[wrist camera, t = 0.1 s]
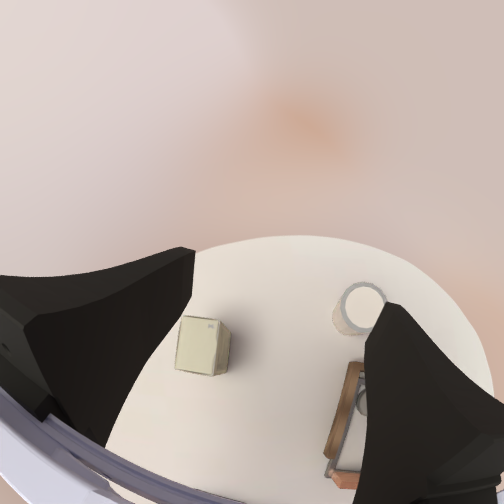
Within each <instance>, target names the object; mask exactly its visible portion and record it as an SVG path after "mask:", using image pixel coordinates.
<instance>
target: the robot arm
mask: <svg viewBox="0 0 504 504" xmlns="http://www.w3.org/2000/svg"><path fill="white" fill-rule="evenodd" d="M195 252H196V251H194V250H191V249H187V248H184V247H177V248H173V249H169V250H166V251H163V252H160V253H158V254H154V255H152V256H148V257H145V258H142V259H139V260H136V261H133V262H129V263H126V264H123V265H119V266H116V267H112V268H108V269H104V270H99V271H94V272H89V273H83V274H75V275H66V276H56V277H18V276H5V275H0V475H1V476H2V477H3V478H4V480H5V481H6V482H7V483H8V484H9V485H10V486H11V487H12V488H13V489H14V490H15V491H16V492H17V493H18V494H19V495H20V496H21V497H22V498H23V499H24V500H25V501H26V502H28V503H29V504H135V503H132V502H130V501H128V500H126V499H124V498H123V497H121V496H120V495H119V494H117V493H116V492H115V491H114V490H113V489H112V488H111V487H110V485H109V482H108V481H107V480H105V479H104V478H102V477H101V476H99V475H98V474H100V475H102V476H103V477H105V478H107V479H109V480H110V481H112V482H114V483H116V484H118V485H120V486H122V487H124V488H126V489H128V490H130V491H132V492H134V493H136V494H138V495H140V496H142V497H144V498H146V499H149V500H151V501H153V502H156V503H158V504H244V503H242V502H238V501H234V500H230V499H226V498H223V497H219V496H216V495H212V494H209V493H206V492H203V491H200V490H196V489H193V488H190V487H188V486H185V485H182V484H179V483H177V482H174V481H172V480H169V479H167V478H164V477H162V476H160V475H157V474H155V473H153V472H150V471H148V470H146V469H144V468H142V467H140V466H137V465H135V464H133V463H131V462H129V461H127V460H125V459H123V458H121V457H120V456H118V455H116V454H114V453H112V452H110V451H108V450H107V449H105V446H106V443H107V441H108V438H109V436H110V433H111V431H112V428H113V426H114V424H115V421H116V419H117V417H118V415H119V413H120V411H121V408H122V406H123V404H124V402H125V400H126V398H127V396H128V394H129V392H130V391H131V389H132V387H133V385H134V383H135V381H136V379H137V378H138V376H139V374H140V372H141V370H142V369H143V367H144V365H145V364H146V362H147V361H148V359H149V358H150V356H151V355H152V353H153V352H154V351H155V349H156V348H157V347H158V345H159V344H160V343H161V342H162V340H163V339H164V338H165V336H166V335H167V334H168V332H169V331H170V330H171V328H172V327H173V326H174V324H175V323H176V322H177V320H178V319H179V318H180V316H181V315H182V313H183V311H184V309H185V308H186V306H187V304H188V302H189V300H190V298H191V296H192V286H193V274H194V262H195ZM364 373H365V387H366V402H367V431H366V441H365V449H364V456H363V462H362V468H361V473H360V477H359V482H358V486H357V490H356V494H355V497H354V501H353V504H504V490H501V491H500V492H497V493H496V486H497V485H499V484H500V483H501V476H500V474H501V473H502V472H504V404H503V403H501V402H499V401H498V400H497V399H495V398H494V397H492V396H491V395H490V394H488V393H487V392H485V391H484V390H483V389H482V388H480V387H479V386H478V385H477V384H475V383H474V382H473V381H472V380H471V379H469V378H468V377H467V376H466V375H465V374H464V373H463V372H462V371H461V370H460V369H459V368H458V367H456V366H455V365H454V364H453V363H452V362H451V361H450V360H449V358H448V357H447V356H446V355H445V354H444V353H443V352H442V351H441V350H440V349H439V348H438V346H437V345H436V344H435V343H434V342H433V341H432V340H431V338H430V337H429V336H428V335H427V334H426V333H425V331H424V330H423V329H422V328H421V327H420V326H419V324H418V323H417V322H416V321H415V320H414V319H413V317H412V316H411V315H410V314H409V313H408V312H407V311H406V310H405V309H404V308H403V307H402V306H401V305H398V304H394V303H390V302H386V303H385V305H384V307H383V309H382V311H381V313H380V315H379V317H378V319H377V321H376V323H375V325H374V327H373V329H372V331H371V333H370V335H369V337H368V338H367V340H366V342H365V354H364ZM89 468H90V469H89ZM92 470H93V471H92ZM94 471H95V472H96V473H98V474H96V473H95V472H94Z"/></svg>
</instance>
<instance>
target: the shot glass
mask: <svg viewBox="0 0 504 504" xmlns="http://www.w3.org/2000/svg"><path fill="white" fill-rule="evenodd" d="M386 302H387V299H386V296H385V295H384V293H383V292H382V290H381V289H380V288H378V287H377V286H375V285H374V284H372V283H367V282H360V283H355V284H353V285H352V286H350V287H349V288H348V289H346V291H345V293H344V294H343V296H342V297H341V299H340V301H339V302H338V304H337V306H336V307H335V309H334V311H333V316H332V319H333V323H334V326H335V327H336V329H337V330H338V331H339V332H340V333H342V334H344V335H348V336H354V335H360V334H366V333H370V332H371V331H372V329H373V327H374V325H375V323H376V321H377V319H378V317H379V315H380V313H381V311H382V309H383V307H384V305H385V303H386Z"/></svg>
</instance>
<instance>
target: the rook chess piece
mask: <svg viewBox="0 0 504 504" xmlns="http://www.w3.org/2000/svg"><path fill="white" fill-rule="evenodd" d="M356 405H357V409H358V411H359V412H360V413H361V414H362V415H365V416H367V402H366V389H365V390H364V391H362V392H361V393H360V395H359V396H358V398H357V403H356Z"/></svg>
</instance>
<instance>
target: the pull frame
mask: <svg viewBox="0 0 504 504" xmlns="http://www.w3.org/2000/svg"><path fill="white" fill-rule="evenodd" d="M360 384H362V385H365V379H361V378H358V382H357V386H356V390H355V394H354V398H353V401H352V405H351V409H350V412H349V416H348V419H347V423H346V426H345V429H344V432H343V436H342V439H341V442H340V445H339V448H338V451H337V454H336V457H335V459H330V461H329V464H328V467H327V469H326V472H325V475H324V476H325V477H326V478H332V479H333V481H334V482H335V483H336V485H337V486H338V487H339V488H340V489H357V486H358V482H359V477H360V473H361V472H359V471H346V470H335V467H336V464H337V461H338V458H339V455H340V452H341V450H342V447H343V444H344V440H345V437H346V434H347V431H348V428H349V424H350V421H351V418H352V414H353V410H354V407H355V403H356V399H357V396H358V392H359V388H360Z"/></svg>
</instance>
